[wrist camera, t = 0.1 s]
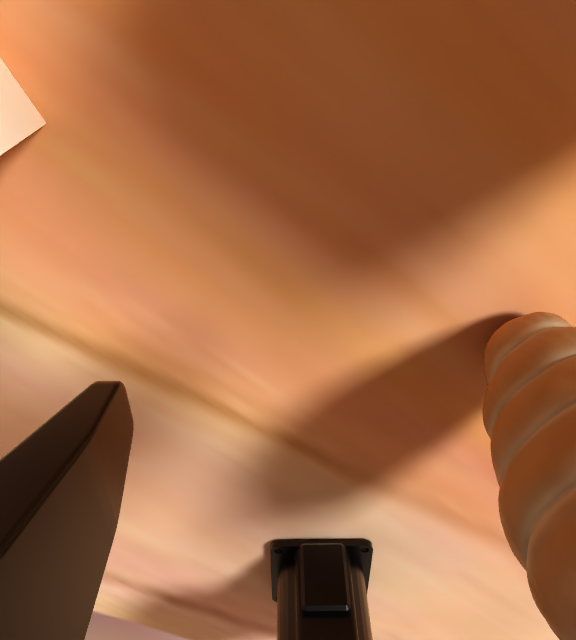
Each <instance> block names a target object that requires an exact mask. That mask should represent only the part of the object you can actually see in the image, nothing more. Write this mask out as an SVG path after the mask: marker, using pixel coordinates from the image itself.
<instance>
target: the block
mask: <svg viewBox="0 0 576 640" xmlns="http://www.w3.org/2000/svg"><path fill="white" fill-rule="evenodd" d="M45 124H47V123H46V122H45V121H44V119H43V118H42V116H41V115H40V113H39V112H38V111H37V109H36V108H35V106H34V105H33V103H32V102H31V101H30V99H29V98H28V96H27V95H26V94H25V92H24V91H23V89H22V88H21V86H20V85H19V84H18V82H17V81H16V79H15V78H14V76H13V75H12V74H11V72H10V71H9V69H8V68H7V66H6V65H5V64H4V62H3V61H2V59H1V58H0V155H2V154H3V153H5V152H6V151H8V150H9V149H10V148H12V147H13V146H15V145H16V144H18V143H19V142H21V141H22V140H23V139H25V138H26V137H28V136H29V135H31V134H32V133H34V132H35V131H36V130H38V129H39V128H41V127H42V126H44V125H45Z"/></svg>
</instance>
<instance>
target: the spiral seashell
mask: <svg viewBox="0 0 576 640" xmlns="http://www.w3.org/2000/svg"><path fill="white" fill-rule="evenodd" d="M484 359H485V360H484V371H485V377H486V381H487V384H488V389H487V392H486V395H485V399H484V403H483V422H484V426H485V429H486V431H487V433H488V435H489V437H490V439H491V456H492V463H493V467H494V470H495V474H496V477H497V481H498V484H499V486H500V490H499V499H498V502H499V513H500V519H501V523H502V526H503V530H504V533H505V536H506V538H507V541H508V543H509V545H510V548H511V550H512V552H513V553H514V555H515V557H516V558H517V559H518V561H519V562H520V564H521V565H522V566H523V568H524V569H525V570H526V571H527V578H528V583H529V587H530V590H531V593H532V596H533V599H534V601H535V603H536V605H537V607H538V609H539V610H540V612H541V614H542V615H543V616H544V618H545V619H546V621H547V623H548V624H549V626H550V627H551V629H552V630H553V632H554V633H555V634H556V636H557V637H558V638H559V639H560V640H576V327H572V326H571V325H570V324H569V323H568V322H567V321H566V320H564V319H563V318H562V317H560V316H558V315H555V314H551V313H545V312H535V313H531V314H527V315H524V316H520V317H517V318H515V319H512V320H510V321H508V322H506V323H505V324H503V325H502V326H501V327H500V328H499V329H497V330H496V331H495V332H494V333H493V335H492V336H491V338H490V340H489V341H488V343H487V346H486V349H485V355H484Z"/></svg>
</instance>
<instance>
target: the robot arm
mask: <svg viewBox="0 0 576 640" xmlns="http://www.w3.org/2000/svg"><path fill="white" fill-rule="evenodd" d="M132 437H133V418H132V414H131V409H130V405H129V401H128V397H127V393H126V389H125V386H124V385H123V383H122V382H120V381H98V382H94V383H93V384H91V385H90V386H89V387H88V388H86V389H85V390H84V391H83V392H82V393H80V394H79V395H78V396H77V397H76V398H74V399H73V400H72V401H71V402H70V403H68V404H67V405H66V406H65V407H64V408H62V409H61V410H60V411H59V412H58V413H56V414H55V415H54V416H53V417H52V418H50V419H49V420H48V421H47V422H45V423H44V424H43V425H42V426H41V427H39V428H38V429H37V430H36V431H35V432H33V433H32V434H31V435H30V436H29V437H27V438H26V439H25V440H24V441H23V442H21V443H20V444H19V445H18V446H17V447H15V448H14V449H13V450H12V451H11V452H9V453H8V454H7V455H6V456H5V457H3V458H2V459H1V460H0V640H84V639H85V635H86V632H87V628H88V625H89V622H90V618H91V614H92V611H93V608H94V604H95V601H96V598H97V594H98V591H99V587H100V584H101V580H102V577H103V574H104V570H105V567H106V563H107V560H108V557H109V553H110V550H111V546H112V543H113V539H114V536H115V532H116V528H117V524H118V519H119V513H120V508H121V502H122V496H123V490H124V485H125V479H126V473H127V467H128V461H129V455H130V449H131V443H132ZM372 553H373V548H372V543H371V542H370V541H368V540H307V541H275V542H273V543H271V576H272V599H273V600H274V601H275V602H277V640H372V632H371V625H370V617H369V610H368V602H367V590H368V582H369V575H370V568H371V560H372Z"/></svg>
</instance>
